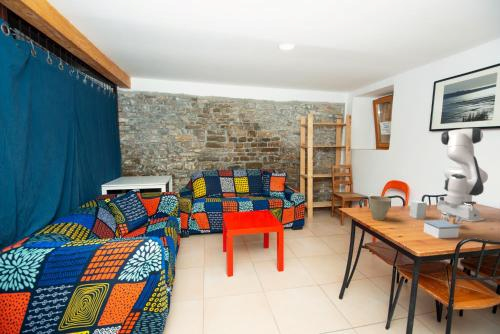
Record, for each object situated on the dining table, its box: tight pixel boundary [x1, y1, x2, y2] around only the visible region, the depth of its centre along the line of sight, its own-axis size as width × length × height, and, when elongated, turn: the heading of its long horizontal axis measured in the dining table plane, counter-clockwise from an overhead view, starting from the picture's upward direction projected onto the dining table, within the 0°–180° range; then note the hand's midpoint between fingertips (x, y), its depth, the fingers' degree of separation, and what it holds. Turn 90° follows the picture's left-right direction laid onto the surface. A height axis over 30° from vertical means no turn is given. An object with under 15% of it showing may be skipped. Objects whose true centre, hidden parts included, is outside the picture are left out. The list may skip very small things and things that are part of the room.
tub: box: [423, 222, 460, 239], centre depth 144 cm, size 14×10×6 cm
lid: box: [423, 218, 462, 228], centre depth 143 cm, size 17×11×5 cm, turn 97°
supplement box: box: [409, 200, 428, 220], centre depth 176 cm, size 7×7×13 cm
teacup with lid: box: [440, 211, 463, 226], centre depth 158 cm, size 12×9×12 cm
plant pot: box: [368, 195, 392, 221], centre depth 171 cm, size 15×15×16 cm
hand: (453, 221), depth 144 cm, fingers closed on lid, 2 cm apart
